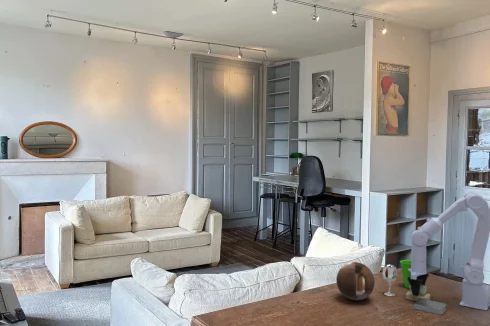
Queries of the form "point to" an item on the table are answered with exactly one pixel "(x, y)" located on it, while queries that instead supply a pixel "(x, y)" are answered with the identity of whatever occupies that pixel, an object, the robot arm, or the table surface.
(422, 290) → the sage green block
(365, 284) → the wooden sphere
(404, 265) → the cup
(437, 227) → the robot arm
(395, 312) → the table surface
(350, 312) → the table surface
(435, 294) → the table surface
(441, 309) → the dock
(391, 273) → the wineglass
